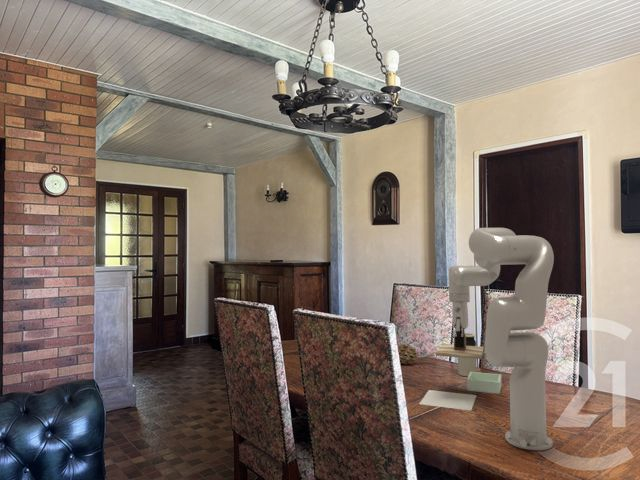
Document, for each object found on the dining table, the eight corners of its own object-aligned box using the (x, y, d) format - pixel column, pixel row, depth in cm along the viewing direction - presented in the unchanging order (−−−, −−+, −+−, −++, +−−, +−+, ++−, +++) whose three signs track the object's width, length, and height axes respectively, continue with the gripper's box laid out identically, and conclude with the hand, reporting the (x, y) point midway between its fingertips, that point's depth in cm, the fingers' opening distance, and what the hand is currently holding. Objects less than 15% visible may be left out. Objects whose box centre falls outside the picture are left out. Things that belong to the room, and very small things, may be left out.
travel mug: (479, 377, 201) (478, 335, 202) (460, 377, 202) (460, 336, 202) (473, 372, 209) (472, 332, 210) (455, 372, 209) (455, 332, 210)
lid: (480, 359, 165) (480, 341, 165) (435, 355, 171) (435, 338, 171) (483, 349, 179) (483, 333, 179) (441, 346, 186) (441, 331, 186)
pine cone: (391, 366, 221) (391, 346, 221) (388, 362, 231) (388, 342, 231) (437, 366, 221) (437, 345, 221) (432, 361, 230) (432, 341, 231)
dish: (499, 395, 176) (499, 382, 176) (467, 391, 181) (466, 379, 181) (501, 386, 187) (501, 374, 187) (470, 383, 191) (470, 371, 192)
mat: (471, 412, 158) (471, 410, 158) (419, 405, 165) (419, 404, 165) (476, 396, 174) (476, 395, 174) (428, 391, 182) (428, 389, 182)
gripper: (467, 300, 166) (468, 351, 166) (471, 296, 182) (472, 342, 181) (446, 300, 169) (447, 349, 169) (451, 295, 185) (452, 341, 184)
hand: (460, 345), depth 175 cm, fingers closed on lid, 4 cm apart
